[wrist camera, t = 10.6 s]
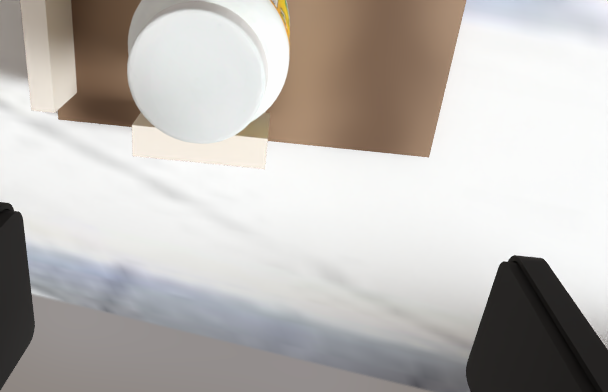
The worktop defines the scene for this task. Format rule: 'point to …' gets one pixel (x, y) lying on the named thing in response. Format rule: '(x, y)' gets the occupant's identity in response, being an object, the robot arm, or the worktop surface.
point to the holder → (145, 137)
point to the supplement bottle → (207, 64)
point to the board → (305, 71)
